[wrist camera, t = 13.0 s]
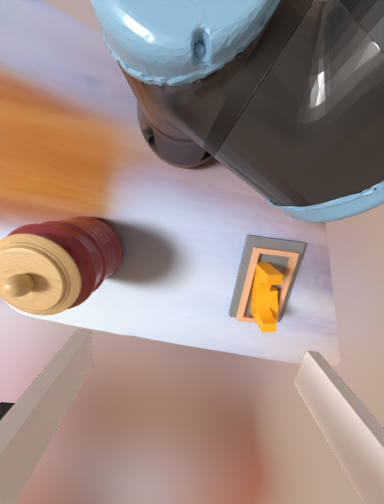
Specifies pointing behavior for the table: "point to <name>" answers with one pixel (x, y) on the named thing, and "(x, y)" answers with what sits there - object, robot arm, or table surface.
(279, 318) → the holder board
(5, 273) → the canister
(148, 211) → the table surface
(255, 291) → the pipe clamp
